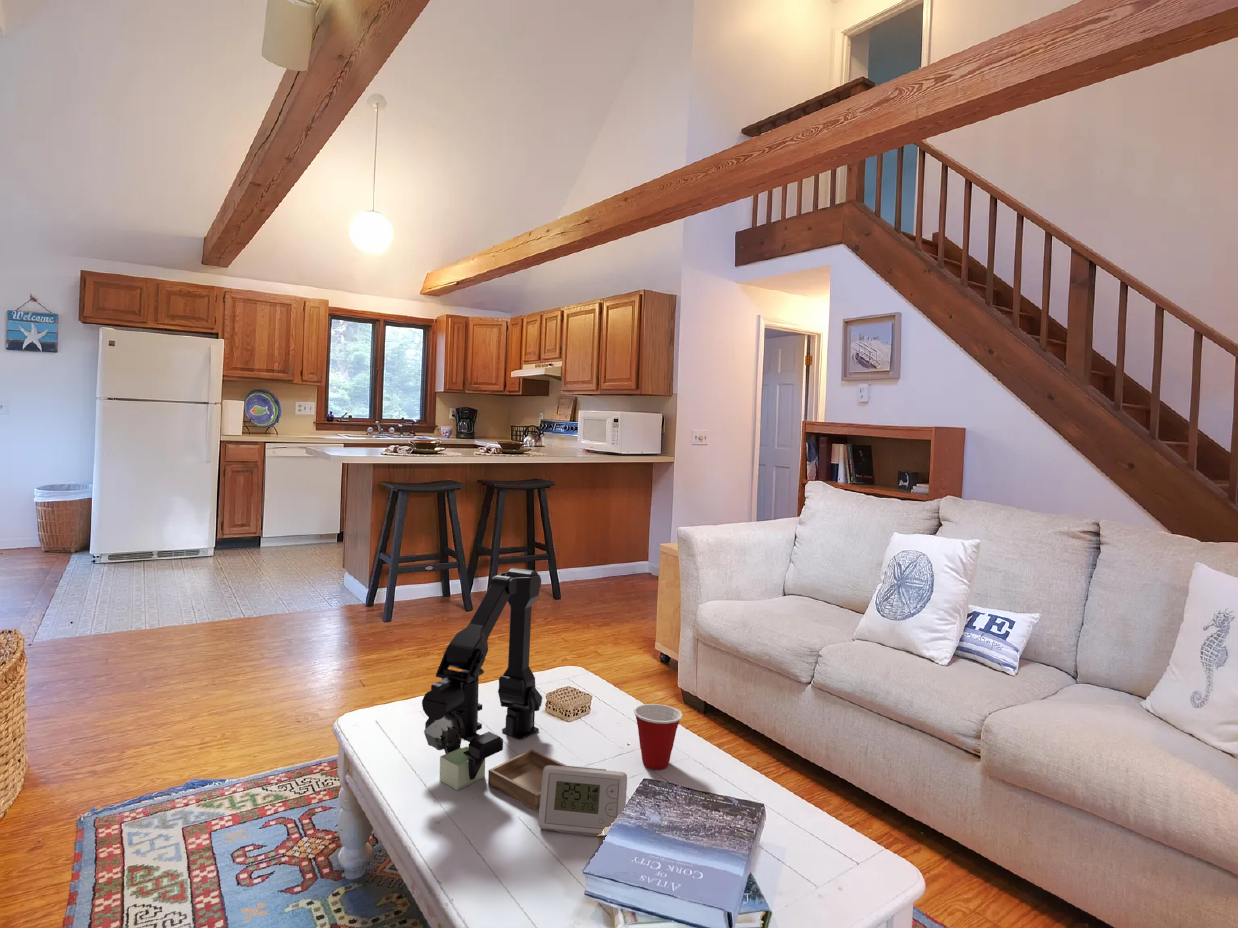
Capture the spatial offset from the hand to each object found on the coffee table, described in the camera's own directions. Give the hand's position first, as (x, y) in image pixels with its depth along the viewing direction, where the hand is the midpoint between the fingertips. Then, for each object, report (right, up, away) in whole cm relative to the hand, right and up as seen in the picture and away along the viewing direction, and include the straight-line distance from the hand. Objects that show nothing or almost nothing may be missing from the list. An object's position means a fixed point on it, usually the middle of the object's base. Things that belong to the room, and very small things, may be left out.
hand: (462, 773), depth 145 cm
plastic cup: (+41, -2, +10) cm, 42 cm away
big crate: (+15, -2, -2) cm, 15 cm away
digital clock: (+26, -3, -16) cm, 30 cm away
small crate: (0, -1, 0) cm, 1 cm away
